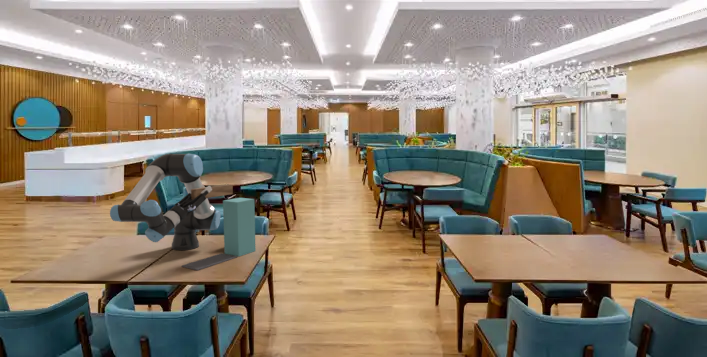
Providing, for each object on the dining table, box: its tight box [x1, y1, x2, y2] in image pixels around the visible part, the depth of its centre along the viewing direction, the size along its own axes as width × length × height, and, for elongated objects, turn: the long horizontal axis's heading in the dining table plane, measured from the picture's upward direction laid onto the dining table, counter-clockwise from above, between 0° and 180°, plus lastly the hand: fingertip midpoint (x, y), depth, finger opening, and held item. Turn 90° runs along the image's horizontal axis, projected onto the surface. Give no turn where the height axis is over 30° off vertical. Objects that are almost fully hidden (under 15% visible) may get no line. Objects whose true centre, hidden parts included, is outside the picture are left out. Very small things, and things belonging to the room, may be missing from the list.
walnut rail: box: [191, 183, 234, 199], centre depth 230 cm, size 4×24×5 cm, turn 150°
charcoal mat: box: [181, 252, 238, 271], centre depth 231 cm, size 12×26×1 cm, turn 149°
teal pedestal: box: [222, 197, 257, 257], centre depth 248 cm, size 11×13×30 cm
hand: (207, 187), depth 226 cm, fingers closed on walnut rail, 4 cm apart
